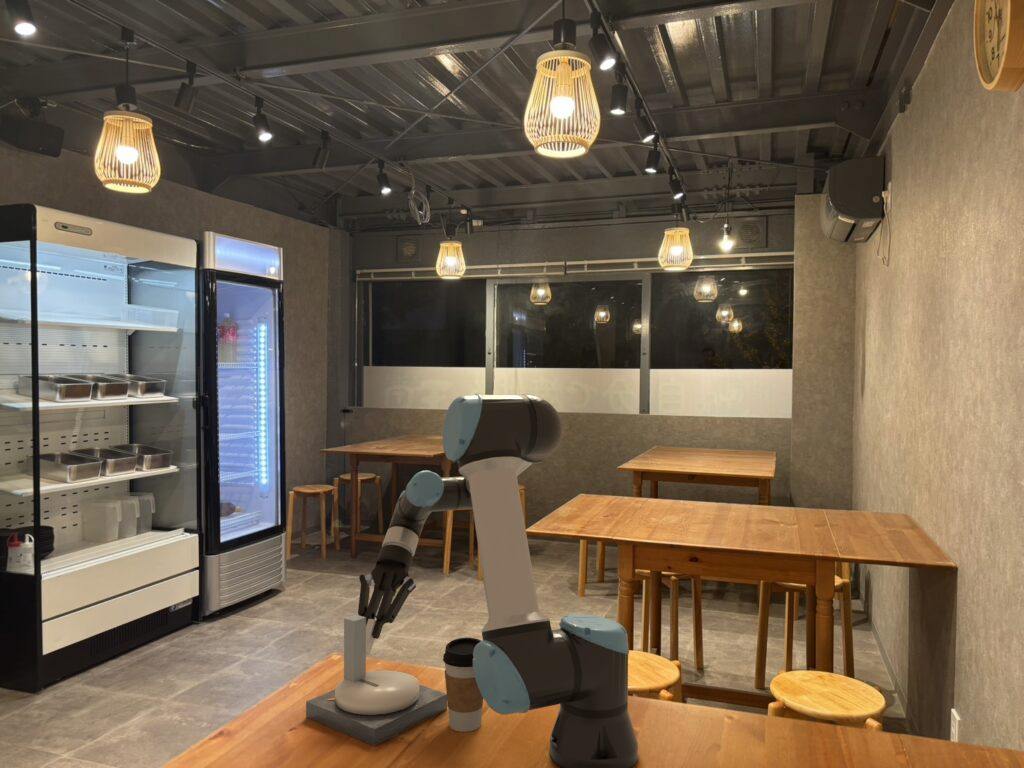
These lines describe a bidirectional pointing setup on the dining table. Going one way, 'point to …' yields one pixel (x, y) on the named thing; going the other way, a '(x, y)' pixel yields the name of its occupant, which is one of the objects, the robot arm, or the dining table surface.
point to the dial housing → (376, 716)
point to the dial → (370, 678)
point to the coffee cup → (462, 685)
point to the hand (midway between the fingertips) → (364, 651)
